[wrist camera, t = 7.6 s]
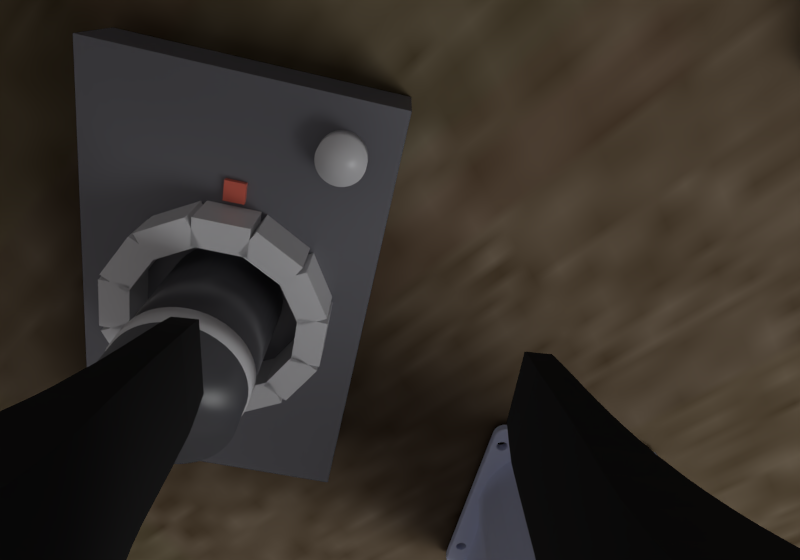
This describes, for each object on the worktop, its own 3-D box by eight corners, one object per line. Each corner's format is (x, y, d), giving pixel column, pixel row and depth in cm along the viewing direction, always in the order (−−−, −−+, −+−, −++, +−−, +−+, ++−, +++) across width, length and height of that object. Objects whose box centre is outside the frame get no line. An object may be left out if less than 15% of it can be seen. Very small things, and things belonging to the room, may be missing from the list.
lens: (307, 294, 20) (271, 405, 15) (240, 362, 22) (185, 486, 16) (210, 220, 19) (134, 313, 14) (146, 298, 20) (54, 410, 15)
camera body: (334, 440, 27) (322, 510, 23) (117, 403, 26) (70, 469, 22) (411, 97, 19) (412, 121, 16) (112, 27, 18) (43, 37, 15)
